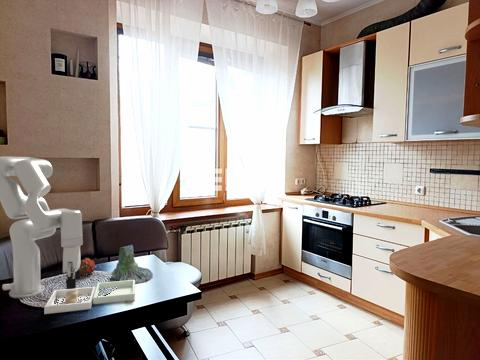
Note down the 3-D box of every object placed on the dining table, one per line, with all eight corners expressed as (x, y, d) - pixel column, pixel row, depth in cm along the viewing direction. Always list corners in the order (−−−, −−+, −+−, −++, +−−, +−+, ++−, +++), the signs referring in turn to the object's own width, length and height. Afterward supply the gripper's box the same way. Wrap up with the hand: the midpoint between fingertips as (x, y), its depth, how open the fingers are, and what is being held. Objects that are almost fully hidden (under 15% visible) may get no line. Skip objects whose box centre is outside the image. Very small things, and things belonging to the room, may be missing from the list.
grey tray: (44, 315, 117) (44, 307, 117) (54, 297, 132) (54, 290, 132) (90, 309, 122) (90, 302, 122) (95, 293, 137) (95, 286, 136)
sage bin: (93, 305, 126) (93, 297, 125) (97, 289, 141) (97, 282, 140) (134, 300, 130) (134, 293, 130) (134, 286, 145) (134, 279, 145)
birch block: (65, 305, 124) (65, 295, 124) (67, 300, 128) (67, 291, 128) (76, 303, 125) (76, 294, 125) (78, 299, 129) (78, 290, 129)
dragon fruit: (85, 281, 153) (83, 277, 163) (100, 268, 157) (97, 265, 167) (73, 268, 151) (71, 264, 161) (88, 256, 155) (86, 253, 165)
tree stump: (131, 289, 143) (123, 250, 144) (104, 289, 154) (97, 253, 154) (161, 275, 159) (153, 239, 159) (135, 276, 169) (128, 243, 170)
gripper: (66, 237, 132) (67, 277, 133) (56, 247, 116) (57, 293, 117) (85, 236, 134) (87, 275, 135) (78, 246, 118) (80, 291, 119)
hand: (73, 284), depth 126 cm, fingers open, 9 cm apart
